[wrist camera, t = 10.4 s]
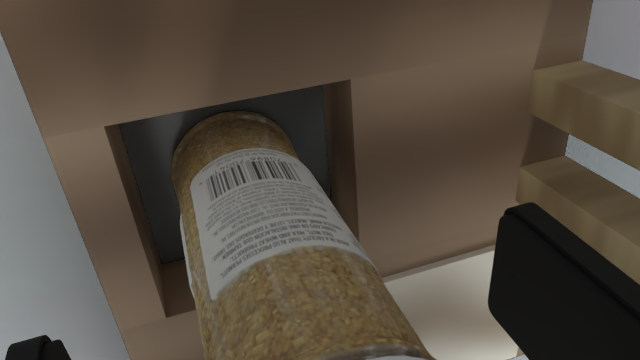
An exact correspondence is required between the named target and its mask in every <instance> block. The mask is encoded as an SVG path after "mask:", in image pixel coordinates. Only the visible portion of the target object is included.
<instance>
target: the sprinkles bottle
mask: <svg viewBox="0 0 640 360" xmlns="http://www.w3.org/2000/svg"><path fill="white" fill-rule="evenodd" d="M171 181H172V183H173V187H174V190H175V194H176V196H177V198H178V201H179V207H180V212H181V215H180V229H181V235H182V242H183V249H184V255H185V260H186V266H187V273H188V279H189V285H190V289H191V292H192V295H193V297H194V299H195V304H196V310H197V317H198V322H199V327H200V335H201V339H202V344H203V349H204V357H205V360H437V359H435V358H434V357H432V356H431V355H430V353H429V352H428V351H427V350H426V348H425V347H424V345H423V343H422V342H421V340H420V338H419V337H418V335H417V333H416V332H415V330H414V329H413V328H412V326H411V325H410V323H409V321H408V320H407V318H406V317H405V315H404V314H403V312H402V311H401V309H400V308H399V306H398V305H397V304H396V302H395V301H394V299H393V297H392V295H391V294H390V293H389V291H388V290H387V288H386V286H385V285H384V283H383V280H382V277H381V275H380V274H379V272H378V270H377V268H376V267H375V265H374V264H373V263H372V261H371V260H370V258H369V257H368V255H367V254H366V252H365V251H364V249H363V248H362V246H361V245H360V244H359V242H358V241H357V239H356V238H355V236H354V235H353V233H352V232H351V230H350V229H349V228H348V226H347V225H346V223H345V222H344V220H343V219H342V217H341V216H340V214H339V213H338V211H337V210H336V208H335V207H334V205H333V204H332V202H331V201H330V200H329V198H328V197H327V195H326V194H325V192H324V191H323V189H322V188H321V186H320V185H319V183H318V182H317V180H316V179H315V177H314V176H313V174H312V173H311V172H310V171H309V169H308V168H307V167H306V166H305V165H304V164H303V163H302V162H301V161H300V159H299V158H298V156H297V155H296V152H295V150H294V148H293V145H292V142H291V140H290V139H289V137H288V136H287V135H286V134H285V132H284V131H283V129H282V128H281V127H280V126H279V125H277V124H276V123H275V122H274V121H272V120H270V119H268V118H266V117H264V116H262V115H260V114H257V113H254V112H245V111H233V112H223V113H219V114H216V115H214V116H211V117H208V118H206V119H204V120H202V121H200V122H199V123H198V124H197V125H195V126H194V127H193V128H191V129H190V130H189V131H188V133H187V134H186V135H184V137H183V138H182V141H181V142H180V143H179V145H178V147H177V148H176V150H175V152H174V154H173V157H172V163H171Z"/></svg>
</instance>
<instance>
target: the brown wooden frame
mask: <svg viewBox="0 0 640 360" xmlns="http://www.w3.org/2000/svg"><path fill="white" fill-rule="evenodd" d="M592 3H593V0H0V32H1V34H2V37H3V39H4V42H5V44H6V47H7V49H8V52H9V54H10V57H11V59H12V62H13V64H14V67H15V69H16V72H17V75H18V77H19V80H20V82H21V85H22V87H23V90H24V92H25V95H26V97H27V100H28V102H29V105H30V107H31V110H32V112H33V115H34V117H35V120H36V122H37V125H38V127H39V130H40V132H41V135H42V137H43V140H44V142H45V145H46V147H47V150H48V153H49V155H50V158H51V160H52V163H53V165H54V168H55V170H56V173H57V175H58V178H59V180H60V183H61V185H62V188H63V190H64V193H65V195H66V198H67V200H68V203H69V205H70V208H71V210H72V213H73V215H74V218H75V220H76V223H77V225H78V228H79V231H80V233H81V236H82V238H83V241H84V243H85V246H86V248H87V251H88V253H89V256H90V258H91V261H92V263H93V266H94V268H95V271H96V273H97V276H98V278H99V281H100V283H101V286H102V288H103V291H104V293H105V296H106V298H107V301H108V303H109V306H110V309H111V311H112V314H113V316H114V319H115V321H116V324H117V326H118V329H119V331H120V334H121V336H122V339H123V341H124V344H125V346H126V349H127V351H128V354H129V356H130V359H131V360H205V357H204V349H203V344H202V339H201V335H200V327H199V322H198V317H197V310H196V304H195V299H194V297H193V295H192V292H191V289H190V285H189V279H188V273H187V266H186V260H185V259H182V260H178V261H175V262H171V263H167V264H163V265H162V264H161V260H160V257H159V254H158V251H157V247H156V244H155V241H154V238H153V234H152V231H151V228H150V225H149V222H148V218H147V215H146V212H145V209H144V205H143V202H142V199H141V196H140V192H139V189H138V186H137V183H136V179H135V176H134V173H133V170H132V167H131V163H130V160H129V157H128V154H127V150H126V147H125V144H124V141H123V137H122V134H121V131H120V128H119V125H118V124H120V123H125V122H130V121H135V120H140V119H146V118H151V117H156V116H161V115H167V114H172V113H177V112H182V111H187V110H193V109H198V108H203V107H208V106H214V105H219V104H224V103H229V102H234V101H240V100H245V99H250V98H255V97H260V96H266V95H271V94H276V93H281V92H287V91H292V90H297V89H302V88H307V87H313V86H318V85H322V93H323V104H324V116H325V128H326V140H327V152H328V164H329V175H330V187H331V199H332V204H333V205H334V207H335V208H336V210H337V211H338V213H339V214H340V216H341V217H342V219H343V220H344V222H345V223H346V225H347V226H348V228H349V229H350V230H351V232H352V233H353V235H354V236H355V238H356V239H357V241H358V242H359V244H360V245H361V246H362V248H363V249H364V251H365V252H366V254H367V255H368V257H369V258H370V260H371V261H372V263H373V264H374V265H375V267H376V268H377V270H378V272H379V274H380V275H381V277H382V280H383V283H384V285H385V286H386V288H387V290H388V291H389V293H390V294H391V295H392V297H393V299H394V301H395V302H396V304H397V305H398V306H399V308H400V309H401V311H402V312H403V314H404V315H405V317H406V318H407V320H408V321H409V323H410V325H411V326H412V328H413V329H414V330H415V332H416V333H417V335H418V337H419V338H420V340H421V342H422V343H423V345H424V347H425V348H426V350H427V351H428V352H429V353H430V355H431V356H432V357H434V358H435V359H437V360H509V359H512V358H515V357H518V356H521V355H523V354H524V353H523V352H522V350H521V349H520V348H519V347H518V346H517V344H516V343H515V342H514V341H513V340H512V339H511V337H510V336H509V335H508V334H507V333H506V331H505V330H504V329H503V328H502V327H501V325H500V324H499V323H498V322H497V321H496V320H495V318H494V317H493V316H492V314H491V312H490V310H489V307H488V295H489V288H490V280H491V273H492V266H493V259H494V252H495V245H496V238H497V231H498V224H499V219H500V218H501V217H502V216H503V215H504V212H505V210H506V209H507V208H510V207H514V206H517V205H521V204H525V203H528V202H533V203H535V204H537V205H538V206H540V207H541V208H542V209H543V210H545V211H546V212H547V213H549V214H550V215H551V216H552V217H554V218H555V219H556V220H558V221H559V222H560V223H561V224H563V225H564V226H565V227H566V228H568V229H569V230H570V231H572V232H573V233H574V234H575V235H577V236H578V237H579V238H581V239H582V240H583V241H584V242H586V243H587V244H588V245H589V246H591V247H592V248H593V249H595V250H596V251H597V252H598V253H600V254H601V255H602V256H604V257H605V258H606V259H607V260H609V261H610V262H611V263H612V264H614V265H615V266H616V267H618V268H619V269H620V270H621V271H623V272H624V273H625V274H627V275H628V276H629V277H630V278H632V279H633V280H634V281H635V282H637V283H638V284H639V285H640V199H639V198H638V197H636V196H634V195H633V194H631V193H629V192H627V191H626V190H624V189H622V188H620V187H619V186H617V185H615V184H613V183H612V182H610V181H608V180H606V179H605V178H603V177H601V176H600V175H598V174H596V173H594V172H593V171H591V170H589V169H587V168H586V167H584V166H582V165H580V164H579V163H577V162H575V161H574V160H572V159H570V158H568V157H567V156H565V151H566V146H567V140H568V135H569V134H570V135H572V136H574V137H576V138H578V139H580V140H582V141H584V142H586V143H588V144H590V145H592V146H593V147H595V148H597V149H599V150H601V151H603V152H605V153H607V154H609V155H611V156H613V157H615V158H617V159H618V160H620V161H622V162H624V163H626V164H628V165H630V166H632V167H634V168H636V169H638V170H640V80H638V79H635V78H632V77H629V76H626V75H624V74H621V73H618V72H615V71H612V70H609V69H606V68H603V67H600V66H597V65H594V64H591V63H588V62H586V61H583V60H582V58H583V52H584V47H585V41H586V36H587V30H588V25H589V19H590V14H591V8H592Z"/></svg>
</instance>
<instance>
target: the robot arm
mask: <svg viewBox="0 0 640 360" xmlns="http://www.w3.org/2000/svg"><path fill="white" fill-rule="evenodd" d="M488 307H489V310H490V312H491V314H492V316H493V317H494V318H495V320H496V321H497V322H498V323H499V324H500V325H501V327H502V328H503V329H504V330H505V331H506V333H507V334H508V335H509V336H510V337H511V339H512V340H513V341H514V342H515V343H516V344H517V346H518V347H519V348H520V349H521V350H522V352H523V353H524V354H525V355H526V356H527V358H528V359H529V360H640V285H639V284H638V283H637V282H635V281H634V280H633V279H632V278H630V277H629V276H628V275H627V274H625V273H624V272H623V271H621V270H620V269H619V268H618V267H616V266H615V265H614V264H612V263H611V262H610V261H609V260H607V259H606V258H605V257H604V256H602V255H601V254H600V253H598V252H597V251H596V250H595V249H593V248H592V247H591V246H589V245H588V244H587V243H586V242H584V241H583V240H582V239H581V238H579V237H578V236H577V235H575V234H574V233H573V232H572V231H570V230H569V229H568V228H566V227H565V226H564V225H563V224H561V223H560V222H559V221H558V220H556V219H555V218H554V217H552V216H551V215H550V214H549V213H547V212H546V211H545V210H543V209H542V208H541V207H540V206H538V205H537V204H535V203H533V202H528V203H525V204H521V205H517V206H514V207H510V208H507V209H506V210H505V212H504V215H503V216H502V217H501V218H500V219H499V224H498V231H497V238H496V245H495V252H494V259H493V266H492V273H491V280H490V288H489V295H488ZM5 360H71V358H70V357H69V355H68V353H67V351H66V349H65V347H64V345H63V343H62V341H61V340H55V341H51V340H50V338H49V337H48V336H47V335H43V336H39V337H36V338H32V339H28V340H25V341H21V342H17V343H14V344H11V345H10V346H9V348H8V351H7V354H6V358H5Z"/></svg>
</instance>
